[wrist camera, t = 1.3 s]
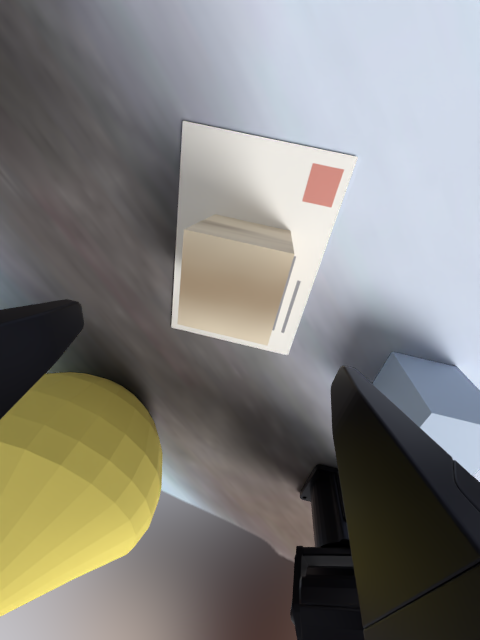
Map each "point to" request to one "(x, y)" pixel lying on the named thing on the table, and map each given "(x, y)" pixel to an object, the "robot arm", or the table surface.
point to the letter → (262, 206)
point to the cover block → (233, 277)
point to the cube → (436, 403)
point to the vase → (72, 482)
